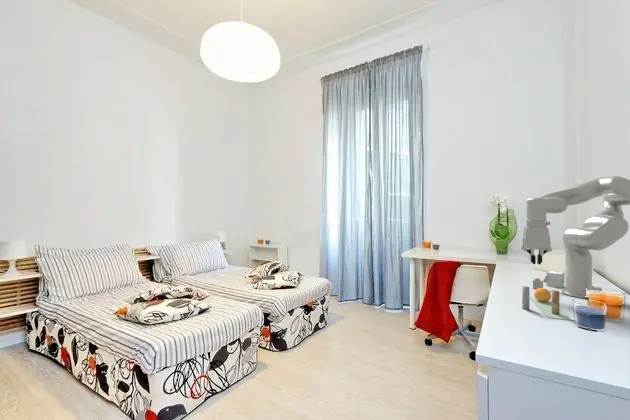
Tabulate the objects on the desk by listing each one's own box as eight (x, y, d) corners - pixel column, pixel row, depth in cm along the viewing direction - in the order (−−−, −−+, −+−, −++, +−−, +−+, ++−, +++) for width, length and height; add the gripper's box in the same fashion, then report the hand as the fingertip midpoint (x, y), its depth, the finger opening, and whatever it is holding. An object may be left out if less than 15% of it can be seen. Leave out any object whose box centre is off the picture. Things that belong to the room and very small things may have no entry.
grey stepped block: (532, 288, 156) (532, 273, 156) (532, 288, 157) (532, 272, 157) (550, 291, 151) (550, 274, 151) (550, 290, 153) (550, 274, 153)
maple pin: (556, 313, 119) (556, 289, 119) (561, 315, 117) (561, 291, 117) (550, 313, 119) (550, 290, 119) (554, 315, 117) (554, 291, 117)
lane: (528, 297, 140) (528, 297, 140) (549, 299, 137) (549, 299, 137) (547, 317, 114) (547, 317, 114) (574, 320, 111) (574, 320, 111)
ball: (543, 299, 137) (543, 286, 137) (554, 303, 131) (554, 289, 131) (530, 299, 137) (530, 286, 137) (540, 303, 131) (540, 289, 131)
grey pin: (526, 307, 126) (526, 286, 126) (530, 309, 123) (530, 287, 123) (520, 307, 126) (520, 286, 126) (525, 309, 123) (525, 287, 123)
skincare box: (550, 284, 165) (550, 270, 165) (564, 286, 159) (564, 272, 159) (546, 286, 161) (546, 272, 161) (560, 288, 156) (560, 274, 156)
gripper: (554, 224, 143) (554, 263, 143) (514, 223, 149) (514, 261, 149) (559, 225, 136) (559, 266, 136) (518, 224, 142) (518, 264, 142)
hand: (536, 263), depth 143 cm, fingers closed
